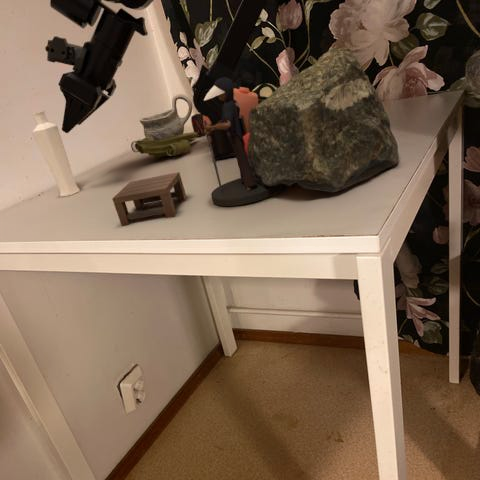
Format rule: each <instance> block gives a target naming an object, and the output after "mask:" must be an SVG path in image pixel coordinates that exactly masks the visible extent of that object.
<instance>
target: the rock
mask: <svg viewBox="0 0 480 480" xmlns="http://www.w3.org/2000/svg"><path fill="white" fill-rule="evenodd" d="M362 66H363V65H362V64H361V63H360V62H359V61H358V58H357V57H356V56H355V55H354V53H353V51H352V50H351V49H350V48H349V46H345V47H343V46H341V45H338V46H335V47H333V48H331V49H329V50H327V51H326V52H325V53H323V54H322V55H321V56H320V57H318V60H317V61H316V62H315V63H313V65H310V66H309V67H306V68H305V69H303V70H302V71H300V72H299V73H298V74H295V75H293V76H291V77H290V78H289V79H288V80H287V81H285V83H282V84H281V85H280V86H278V87H276V88H277V89H276V90H275V91H274V92H273V93H272V94H271V95H270V96H269V97H268V98H267V99H265V100H264V101H262V102H261V103H259V104H258V105H256V106H255V107H252V109H251V110H250V112H249V116H248V122H249V126H250V131H249V132H250V135H249V137H248V145H247V150H248V161H249V164H250V167H251V171H252V173H253V175H254V177H255V179H256V181H258V182H259V183H260V184H262V185H265V186H276V185H278V184H280V183H282V185H286V186H292V185H293V184H297V185H299V186H300V187H302V189H307V190H315V191H323V192H328V193H335V192H336V193H337V192H340V191H342V190H344V189H346V188H347V189H348V188H349V187H351V186H353V185H355V184H357V183H360V182H363V181H366V180H367V179H369V178H371V177H372V176H375V175H377V174H378V173H380V172H382V171H385V170H387V168H390V167H391V166H394V165H396V164H398V161H399V155H400V153H399V147H398V142H397V140H396V137H395V135H394V134H393V132H392V129H391V121H390V118H389V116H388V114H387V112H386V111H385V107H384V105H383V103H382V100H381V97H380V95H379V93H378V92H377V90H376V88H375V87H374V85H373V84H372V83H371V81H370V77H369V76H368V75H367V74H366V72H365V70H364V69H363V67H362Z"/></svg>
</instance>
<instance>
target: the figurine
mask: <svg viewBox="0 0 480 480" xmlns="http://www.w3.org/2000/svg"><path fill="white" fill-rule="evenodd" d="M215 96H218V97H219V99H220V100H221V101H225V103H224V104H223V106H222V120H221V121H219V122H218V123H217V124H216V125H213V126H211V125H207V122H206V120H204V129H205V130H204V134H205V136H206V140H207V142H208V147H209V150H210V153H211V154H210V155H211V158H212V163H213V167H214V170H215V174H216V175H215V176H216V178H217V183H218V187H216V188H214V189H213V190H212V191H211V193H210V196H211V200H212V203H213V204H214V205H217V206H221V207H229V206H230V207H233V206H241V205H247V204H251V203H256V202H258V201H262V200H264V199H267V198H269V197H271V196H273V195H275V194H277V193H279V192H280V191H281V190H282V188H283V183H280V184H278V185H276V186H265V185H262V184H260V183H259V182H258V181H256V179H255V177H254V175H253V173H252V171H251V167H250V164H249V161H248V157H247V153H246V151H245V147H244V146H245V143H244V139H243V135H242V131H241V127H240V122H239V117H238V110H237V107H236V104H235V101H234V84H233V80H232V81H231V80H230V79H229V78H225V77H224V78H220V79H218V80H217V81H216V82H215V83H214V86H213V87H212V88H211V89H210V91H209V92H208V93H207V95H206V96H205V98H204V101H206V100H208V99H211V98H213V97H215ZM210 129H211V130H210ZM218 129H222V130H225V131H226V132H227V138H228V140H230V143H231V146H232V148H233V150H234V152H235V155H236V156H235V158H236V162H237V165H238V169H239V174H240V177H239V178H237V179H233V180H230V181H228V182H227V181H226V183H223V184H221V177H220V174H219V170H218V166H217V160H215V156H214V153H213V148H212V143H211V142H212V139H211V137H210V134H211V133H212V132H213V131H216V130H218Z"/></svg>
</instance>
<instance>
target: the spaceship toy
mask: <svg viewBox="0 0 480 480" xmlns="http://www.w3.org/2000/svg"><path fill="white" fill-rule="evenodd" d="M197 137H198V134H197V133H196V132H194V131H191V132H185V133H183V134H179V135H174V136H170V137H165V138H161V139H157V140H154V139H153V138H152V137H149V138H146V137H144V138H140V139H137V140H134V141H132V142H131V143H130V148H131V151H133V152H134V153H140V154H142V155H143V154H144V155H145V154H148V155H149V156H153V157H154V158H155V159H156V160H159V159H161V158H164V157H166V156H167V157H169V156H170V157H172V156H180V155H181V154H186V153H187V152H190V150H191V143H193V142H194V141H196V138H197Z"/></svg>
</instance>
